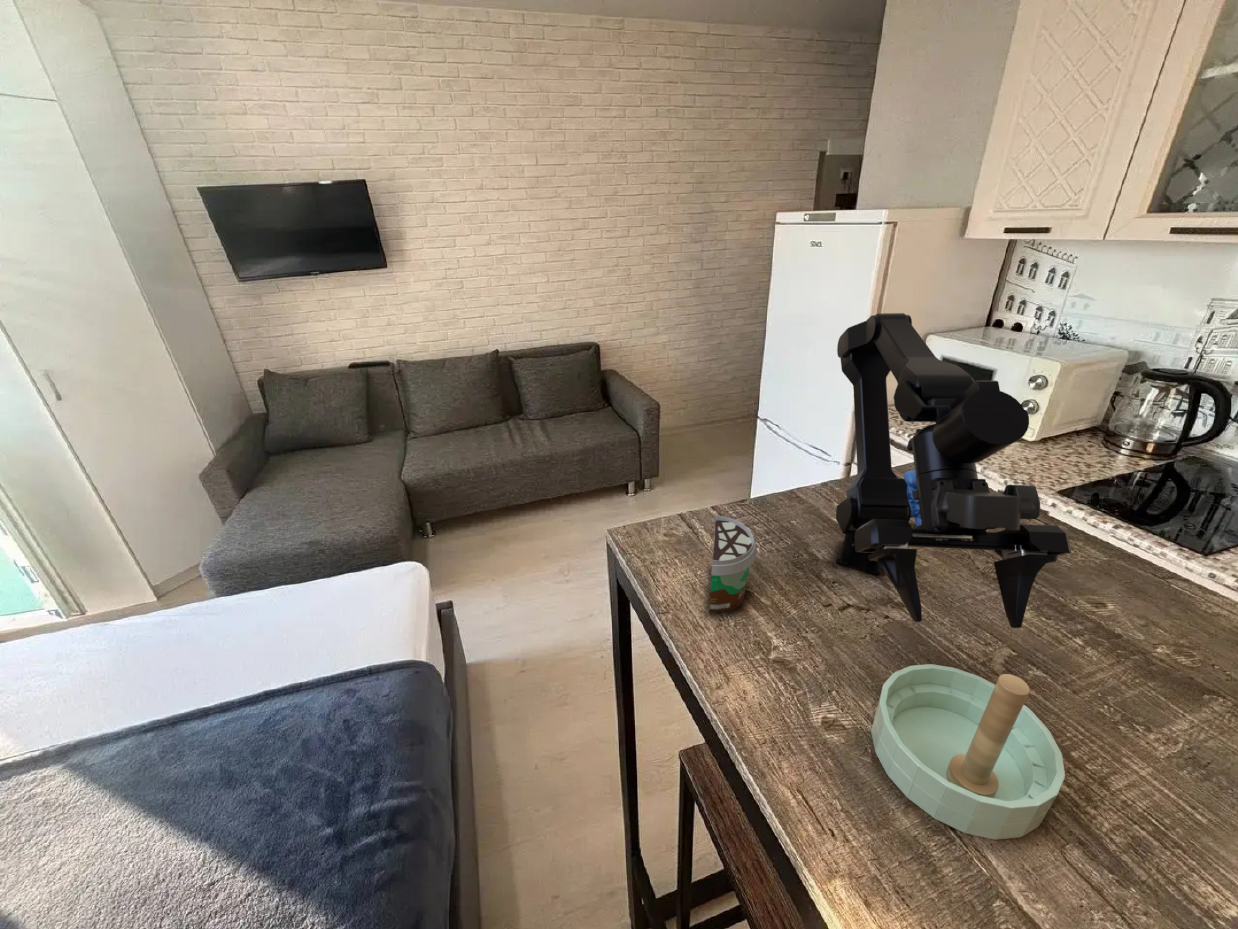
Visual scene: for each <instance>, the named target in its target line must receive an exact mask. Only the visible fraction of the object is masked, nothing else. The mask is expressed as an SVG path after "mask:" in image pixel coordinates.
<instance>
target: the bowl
mask: <svg viewBox="0 0 1238 929" xmlns="http://www.w3.org/2000/svg"><path fill="white" fill-rule="evenodd" d="M995 685H996V683H995V684H994V683H993V682H991V681H989V680H988V679H985V678H983V677H982V676H980V675H977V674H974V673H971V672H968V671H965V670H963V669H960V668H956V667H952V666H945V665H938V664H934V663H933V664H932V663H927V664H926V663H925V664H914V665H909V666H906V667H904V668H902V669H899V670H896V671H895V672H893V673H891V675H890V676H889V677H888V679H887V680H886V681H885V682H884V683H883V684H882V687H881V690H880V695H879V698H878V702H877V705H876V709H875V712H874V715H873V721H872V725H871V730H870V732H871V738H872V743H873V748H874V753H875V755H876V756H877V758H878V760H879V762H880V764H881V766H882V767H883V769H884V771H885V774H886V775H887V776H888V778H889V779H890V780H891V781H892V783H893V784H895V785H896V787H897V788H898V789H899V790H900V791H901V792H902V794H904V796H905V797H906V798H907V799H908V800H909V801H911V802H912V803H914V805H916V807H918V808H920V809H921V810H923V811H924V812H925V813H926V814H927V815H929V816H931V817H932V818H933V819H935V820H936V821H938V822H941V823H943V824H944V825H947V826H949V827H951V828H953V829H955V830H957V831H959V832H962V833H963V834H967V835H971V836H976V837H980V838H985V839H989V840H994V841H996V840H1006V839H1007V840H1008V839H1017V838H1023V837H1024V836H1026V835H1027V834H1029V833H1030V832H1032V831H1033V830H1035V829H1037V828H1038V827H1040V825H1041V824H1042V822H1043V821H1044V819H1045V817H1046V816H1047V813H1049V810H1050V808H1051V807H1052V805H1053V804H1054V802H1055V800H1056V798H1057V797H1058V795H1059V793H1060V791H1061V788H1062V786H1063V783H1064V781H1065V778H1066V772H1065V764H1064V758H1063V753H1062V751H1061V749H1060V747H1059V745H1058V744H1057V742H1056V740H1055V739H1054V736H1053V735H1052V733H1051V731H1050V730H1049V729H1048V728H1047V726H1046V725H1045V724H1044V723H1043V722H1042V720H1040V718H1038V716H1037V715H1036V714H1035V713H1034V712H1033V710H1031V709H1030V707H1028V706H1026V705H1025V704H1024V705H1023V707H1022V709H1021V711H1020V713H1019V716H1018V718H1017V720H1016V722H1015V724H1014V726H1013V728H1012V730H1011V732H1010V735H1009V737H1008V739H1007V741H1006V743H1005V745H1004V747H1003V749H1002V751H1001V754H1000V756H999V758H998V760H997V762H996V764H995V766H994V768H993V772H994V773H995V775H996V777H997V779H998V783H999V787H998V790H997V792H996V794H995V796H994V798H990V797H985V796H980V795H977V794H975V793H973V792H971V791H968V790H966V789H964V788H962V787H959V786H957V785H955V784H953V783H950V782H949V781H948V779H947V775H946V771H947V768H948V766H949V763H950V761H951V759H952V758H953V757H954V756H955V755H958V754H966V753H967V751H968V749H969V746H970V744H971V741H972V739H973V737H974V734H975V732H976V730H977V727H978V725H979V723H980V720H981V718H982V716H983V713H984V711H985V709H986V706H987V704H988V702H989V699H990V697H991V695H992V692H993V690H994V688H995Z"/></svg>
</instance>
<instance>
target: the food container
mask: <svg viewBox="0 0 1238 929" xmlns="http://www.w3.org/2000/svg"><path fill="white" fill-rule="evenodd" d="M757 552H758V551H757V545H756V540H755V538H754V535H753V533H752V532H751V530H750V529H749V528H748V527H747V526H746V525H745V524H743V523H742V522H740V521H738V520H735V519H733V518H731V517H727V516H724V515H723V516H722V515H716V514H715V515H714V525H713V542H712V560H711V573H710V589H709V607H708V608H709V609H708V613H710V614H713V613H714V614H720V613H726V612H729V611H732V610H734V609H737V608H738V607H739V606H740V605H741V604H742V603H743V600H744V598H745V594H746V589H747V582H748V578H749V572H750V567H751V566H752V565H753V564H754V562H755V561H756V558H757V557H758V556H757V554H758V553H757Z"/></svg>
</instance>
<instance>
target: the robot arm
mask: <svg viewBox="0 0 1238 929" xmlns="http://www.w3.org/2000/svg"><path fill="white" fill-rule="evenodd" d="M837 341H838V342H837V347H836V352H837V353H836V354H837V357H838V358H839V359H840V366H841V372H842V373H843V374H844V376H845V377H846V378H847V379H848V381H849V382H850V383H851V384H852V389H853V407H854V408H853V409H854V429H855V450H856V452H855V454H856V475H855V476H854V478H853V480H852V481H851V483H850V485H849V486H848V488H847V489H846V498H845V499H843V500H842V501H841V502H839V503H838V504H836V511H835V519H836V522H837V524H838V526H839V529H840V531H841V533H842V535H844V538H843V541H842V542H841V545H840V547H839V551H838V552H837V556H836V557H835V563H836V564H838V565H841V566H844V567H847V568H851V569H855V570H858V571H861V572H865V573H867V574H871V575H875V576H879V575H880V574H881V571H882V570H883V573H884V574H885V575H886V577H887V578H888V579H889V581H890V582H891V584H892V585H893V587H894V589H895V590H896V592H897V594H898V596H899V598H900V600H901V601H902V603H903V606H905V609H906V610H907V613H908V614H909V616H910V617H911V620H912V621H913V622H914V623H921V622H922V620H923V617H922V615H923V612H922V603H921V602H922V601H921V596H920V591H919V586H918V579H917V574H916V561H917V560H916V559H917V554H918V549H917V548H933V549H935V548H937V549H938V548H939V549H957V550H983V551H994V552H995V553H996V554H997V555H998V557H1001V559H1000V560H995V561H993V565H994V569H995V575H996V578H997V582H998V587H999V591H1000V596H1001V600H1002V604H1003V608H1004V612H1005V613H1004V614H1005V615H1006V618H1007V621H1008V624H1009V626H1010V628H1012V629H1020V628H1022V626H1023V622H1024V618H1025V614H1026V611H1027V606H1028V603H1029V599H1030V595H1031V591H1032V587H1033V585H1034V583H1035V581H1036V578H1037V575H1038V574H1039V572H1040V571H1041V570H1042V569H1043V567H1044V566H1045V565H1046V564H1050V563H1055V562H1057V560H1058V558H1059V556H1061V555H1067V554H1071V553H1072V549H1071V542H1070V539H1069V538H1070V537H1069V535H1068V534H1067V533H1066V532H1065V531H1064V530H1063V529H1062V528H1061V527H1060V526H1059V525H1052V524H1051V525H1048V524H1022V523H1021V520H1037V519H1038V518H1039V517H1040V515H1041V500H1040V497H1039V493H1038V490H1037V486H1036V485H1028V484H1006V486H1005V487H1004V490H1003V492H991V491H990V487H989V483H988V482H987V481H986V480H987V479H986V478H979V476H978V472H977V464H976V463H979V462H983V461H984V460H987V459H988V458H990V457H991V456H993V455H994V454H997V453H998V452H1001V451H1002V450H1004V449H1005V448H1007V447H1009V446H1011V445H1012V444H1014V443H1016V442H1018V441H1019V440H1021V439H1022V438H1023V437H1024V436H1025V435H1026V433H1027V431H1028V430H1029V426H1030V416H1029V412H1028V411H1027V410H1026V409H1025V408H1024V406H1023V405H1022V404H1021V403H1020V401H1019V400H1017V398H1015V397H1013V396H1012V395H1011V394H1009V393H1007V392H1005V391H1001V389H1000V384H999V383H1000V382H999V380H974V378H973V377H972V375H970V374H969V373H968V372H967V371H965V370H964V369H963V368H962V367H960V366H958V365H956V364H953V363H952V362H951V363H950V362H947V361H944V360H941V359H939V358H938V357H936V355H935V354H934V353H933V350H931V348H930V347H929V346H928V344H927V343H926V342H925V340H924V339H923V338H922V336H921V335H920V334H919V333H918V331H917V330H916V329H915V327H914V326H913V320H912V316H911V315H910V314H905V313H904V312H898V313H897V312H891V313H890V312H889V313H888V312H887V313H886V312H885V313H881V312H880V313H878V312H877V313H875V314H872V315H870V316H869V317H868V318H867V319H866V320H865V321H864V320H863V321H861V322H859V323H857V324H853V325H852V326H848V327H847V328H846V329H845V330H844V331H843V333H842V334H841V335H840V336H839V338H838V340H837ZM890 372H891V374H892V375H893V377H894V379H895V380H896V383H897V385H896V388H895V390H894V394H893V397H892V398H893V403H894V409H895V410H896V411H897V413H898V415H899V417H900V418H901V419H902V420H903V422H906V423H907V422H908V423H932V424H929V425H926V426H925V427H923V428H917V429H916V430H915V432H914V435H913V436H912V437H911V438H910V439H909V441H908V442H907V445H906V450H907V451H909V452H912V456H913V465H914V471H915V474H916V482H917V489H916V490H915V491H913V499H914V500H919V507H920V515H921V524H922V525H920V526H916V528H913V526H912V525H911V524H910V520H911V519H912V518H911V513H912V511H911V507H910V504H909V502H908V497H907V483H906V481H905V480H904V478H899V476H898V475H897V474H896V473H895V471H893V465H892V452H891V435H890V419H889V402H888V387H887V377H888V376H889V374H890ZM996 529H1002V530H999V531H995V532H993V531H988V530H996ZM909 547H912V548H909ZM913 547H914V548H913ZM915 547H917V548H915ZM881 569H882V570H881Z"/></svg>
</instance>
